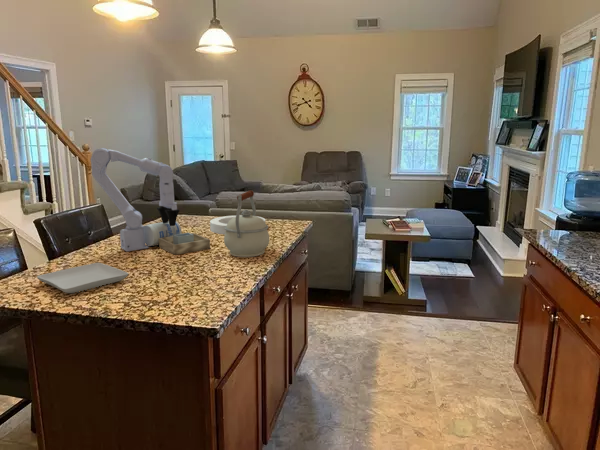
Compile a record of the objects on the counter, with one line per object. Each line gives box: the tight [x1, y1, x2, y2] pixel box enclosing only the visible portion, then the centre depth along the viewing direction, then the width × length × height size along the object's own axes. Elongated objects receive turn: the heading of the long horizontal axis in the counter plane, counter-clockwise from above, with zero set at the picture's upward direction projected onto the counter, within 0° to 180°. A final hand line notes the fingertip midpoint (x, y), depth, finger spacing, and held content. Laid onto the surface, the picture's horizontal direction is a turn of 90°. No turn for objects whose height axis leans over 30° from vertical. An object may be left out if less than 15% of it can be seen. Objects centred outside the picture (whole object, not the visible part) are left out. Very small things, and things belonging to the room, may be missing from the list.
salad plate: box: [36, 262, 129, 294], centre depth 146 cm, size 21×21×3 cm
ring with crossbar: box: [209, 214, 266, 235], centre depth 228 cm, size 28×28×5 cm
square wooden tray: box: [158, 232, 211, 256], centre depth 190 cm, size 16×16×4 cm
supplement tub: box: [143, 220, 183, 247], centre depth 197 cm, size 10×10×15 cm
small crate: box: [173, 232, 194, 245], centre depth 189 cm, size 7×5×5 cm
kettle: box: [223, 190, 270, 258], centre depth 181 cm, size 25×18×25 cm
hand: (168, 224), depth 193 cm, fingers open, 7 cm apart
